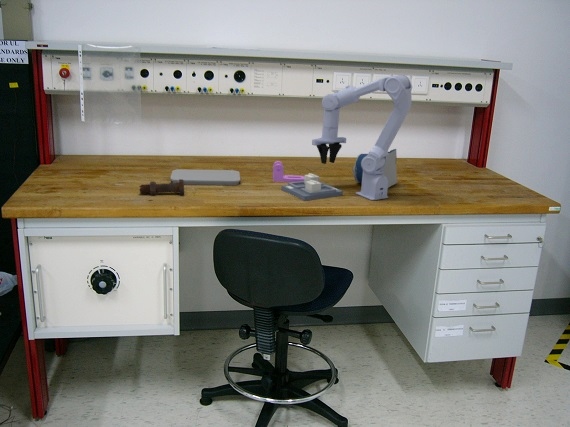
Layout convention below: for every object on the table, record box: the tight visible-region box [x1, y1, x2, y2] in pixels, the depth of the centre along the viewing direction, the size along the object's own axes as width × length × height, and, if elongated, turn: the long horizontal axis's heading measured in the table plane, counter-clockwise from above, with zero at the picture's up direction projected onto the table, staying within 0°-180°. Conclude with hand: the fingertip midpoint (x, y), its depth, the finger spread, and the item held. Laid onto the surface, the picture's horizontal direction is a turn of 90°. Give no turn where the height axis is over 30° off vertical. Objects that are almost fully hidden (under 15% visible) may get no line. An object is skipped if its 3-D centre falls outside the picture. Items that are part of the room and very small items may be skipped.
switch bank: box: [280, 180, 344, 202], centre depth 208 cm, size 15×17×2 cm
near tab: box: [305, 180, 321, 192], centre depth 203 cm, size 4×4×4 cm
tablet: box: [170, 168, 241, 186], centre depth 218 cm, size 16×26×2 cm, turn 97°
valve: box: [351, 148, 398, 188], centre depth 221 cm, size 13×15×15 cm
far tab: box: [304, 172, 320, 184], centre depth 212 cm, size 4×4×4 cm
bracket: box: [272, 160, 304, 183], centre depth 222 cm, size 13×6×7 cm, turn 93°
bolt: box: [139, 179, 185, 196], centre depth 197 cm, size 6×5×15 cm
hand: (327, 162), depth 213 cm, fingers open, 3 cm apart
